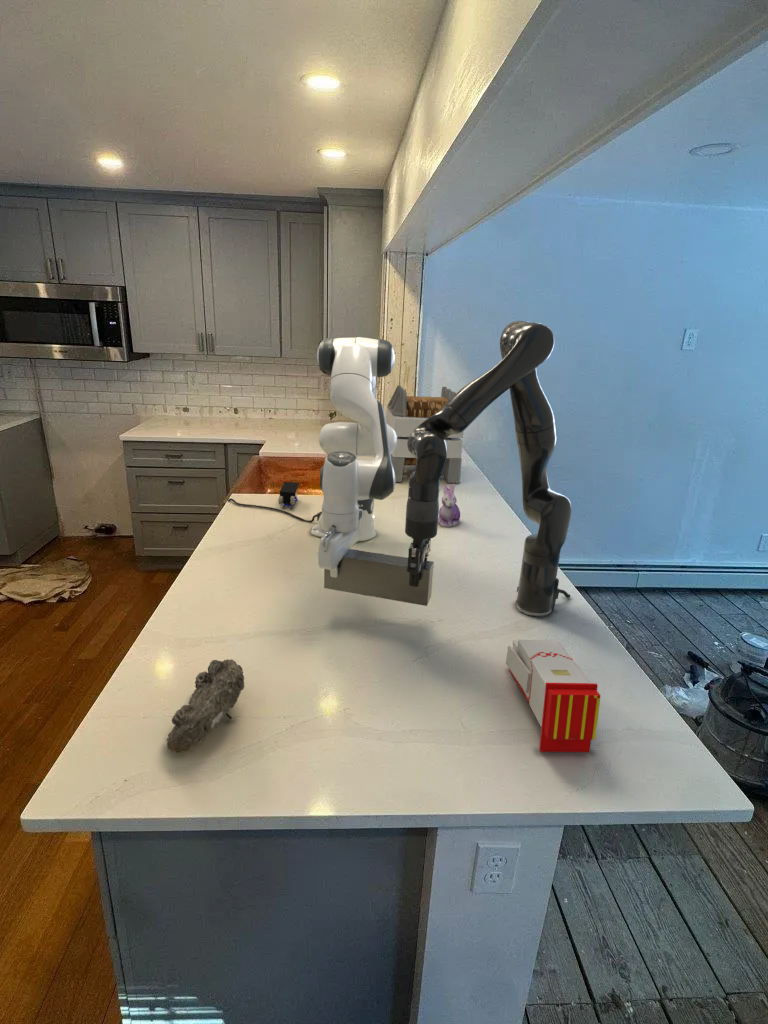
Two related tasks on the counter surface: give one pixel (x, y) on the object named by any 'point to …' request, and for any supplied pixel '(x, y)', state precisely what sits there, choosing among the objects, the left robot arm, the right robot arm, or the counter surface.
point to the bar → (381, 577)
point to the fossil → (206, 705)
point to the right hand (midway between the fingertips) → (417, 578)
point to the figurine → (449, 508)
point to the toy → (556, 694)
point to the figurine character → (288, 494)
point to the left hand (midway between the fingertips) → (339, 570)
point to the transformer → (409, 415)
